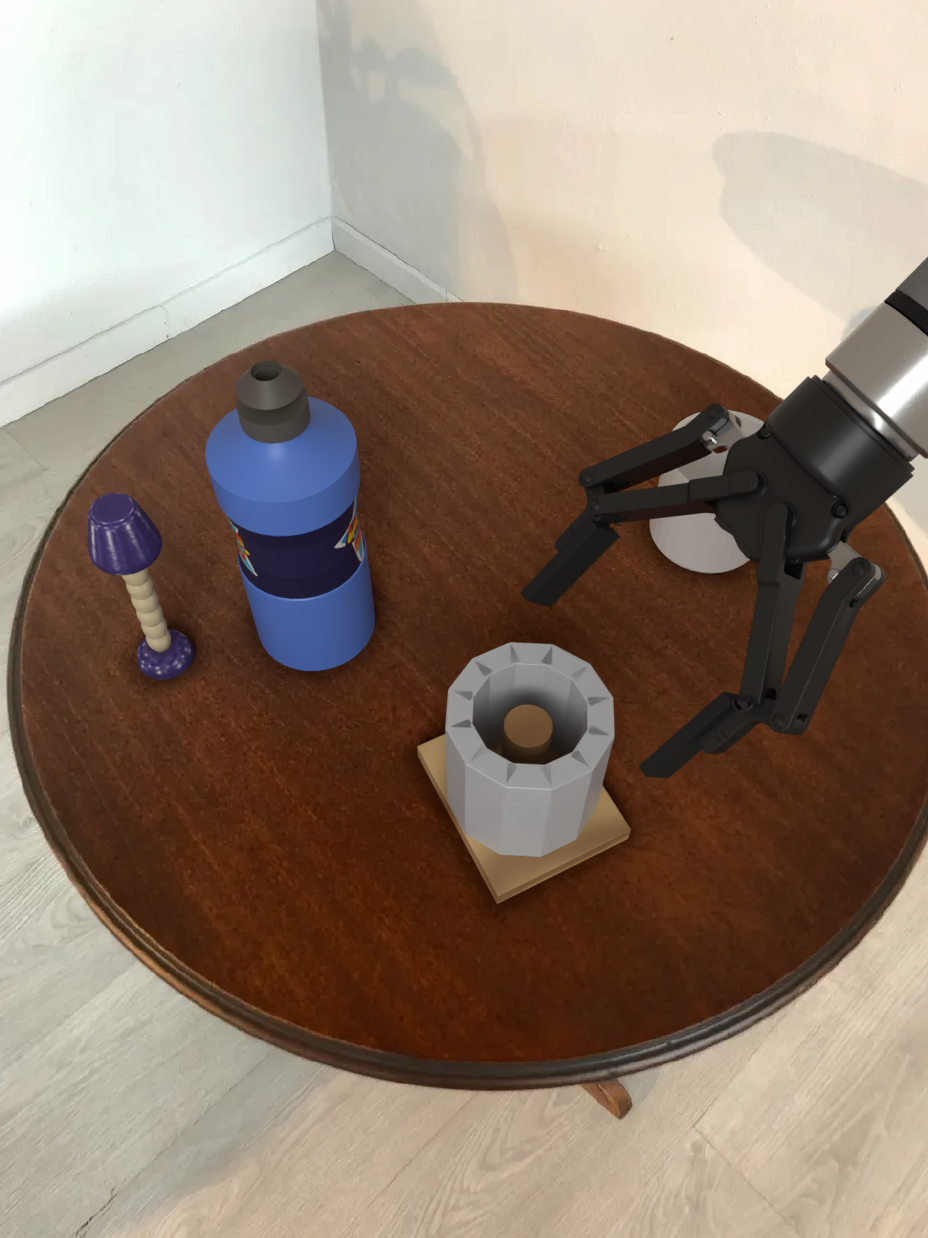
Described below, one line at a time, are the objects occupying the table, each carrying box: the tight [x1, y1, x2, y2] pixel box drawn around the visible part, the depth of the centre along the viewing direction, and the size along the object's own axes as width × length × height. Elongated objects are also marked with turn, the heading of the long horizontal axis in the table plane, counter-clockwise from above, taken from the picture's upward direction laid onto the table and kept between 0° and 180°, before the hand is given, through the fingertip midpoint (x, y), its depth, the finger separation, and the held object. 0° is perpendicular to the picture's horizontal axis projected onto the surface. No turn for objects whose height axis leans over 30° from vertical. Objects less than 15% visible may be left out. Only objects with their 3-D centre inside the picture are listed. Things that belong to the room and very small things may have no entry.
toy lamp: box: [87, 492, 195, 681], centre depth 70 cm, size 5×5×17 cm
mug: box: [649, 409, 765, 574], centre depth 81 cm, size 12×9×9 cm
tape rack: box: [416, 705, 632, 905], centre depth 66 cm, size 12×10×10 cm
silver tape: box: [444, 641, 616, 857], centre depth 65 cm, size 10×10×10 cm
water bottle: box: [204, 359, 376, 672], centre depth 68 cm, size 9×9×25 cm
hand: (590, 681), depth 61 cm, fingers open, 13 cm apart
